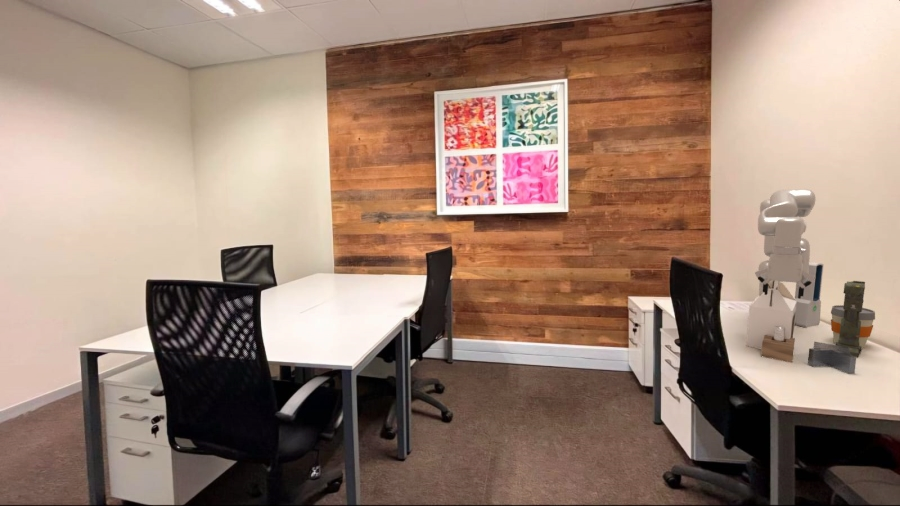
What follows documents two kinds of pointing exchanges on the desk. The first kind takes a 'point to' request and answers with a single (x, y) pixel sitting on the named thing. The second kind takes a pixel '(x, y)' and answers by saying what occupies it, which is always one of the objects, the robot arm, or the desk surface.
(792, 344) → the beam
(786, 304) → the gable box
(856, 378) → the desk surface
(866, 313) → the reusable coffee cup
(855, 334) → the mechanical leg
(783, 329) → the axle
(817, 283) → the electronic device
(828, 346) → the v block
